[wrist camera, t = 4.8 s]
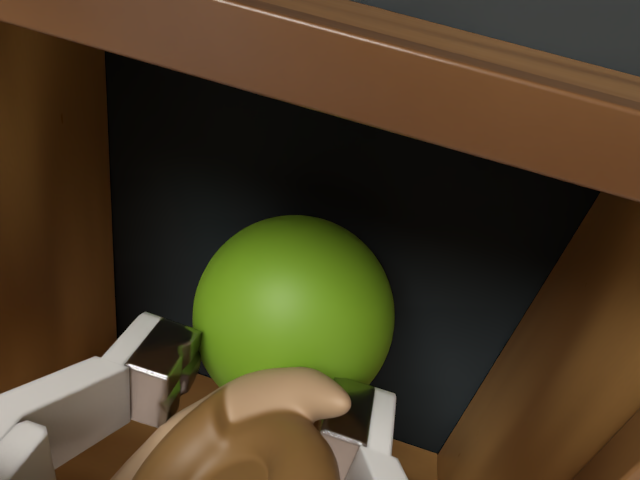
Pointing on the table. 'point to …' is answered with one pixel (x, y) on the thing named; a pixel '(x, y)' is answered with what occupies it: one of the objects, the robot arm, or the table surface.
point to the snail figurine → (275, 354)
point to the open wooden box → (362, 107)
